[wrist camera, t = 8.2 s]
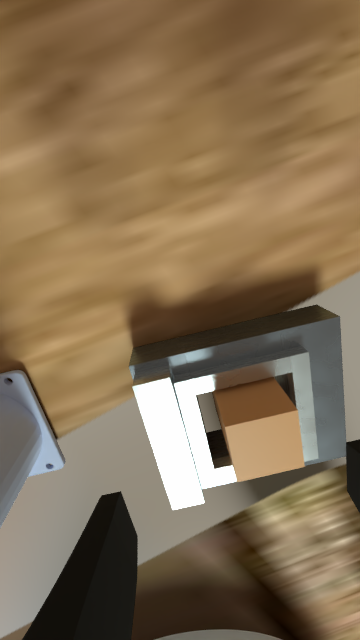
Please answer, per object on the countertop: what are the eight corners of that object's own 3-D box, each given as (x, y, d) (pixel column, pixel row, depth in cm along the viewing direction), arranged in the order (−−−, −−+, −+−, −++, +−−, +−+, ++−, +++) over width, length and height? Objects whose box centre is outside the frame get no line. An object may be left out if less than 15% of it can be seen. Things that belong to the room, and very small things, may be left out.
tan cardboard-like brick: (216, 410, 20) (237, 482, 14) (206, 367, 19) (224, 427, 13) (264, 398, 20) (304, 466, 14) (257, 355, 19) (297, 410, 13)
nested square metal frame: (169, 466, 21) (171, 516, 18) (133, 348, 18) (125, 379, 15) (326, 430, 21) (360, 473, 18) (316, 304, 18) (356, 324, 14)
